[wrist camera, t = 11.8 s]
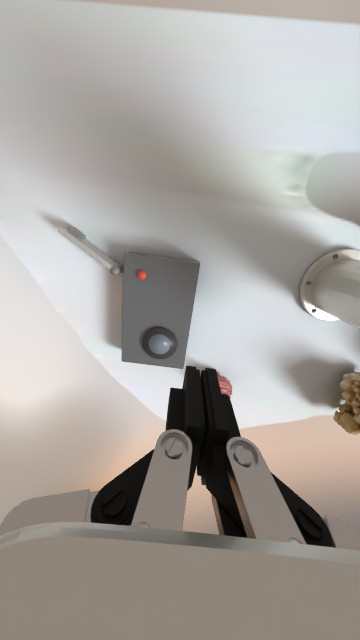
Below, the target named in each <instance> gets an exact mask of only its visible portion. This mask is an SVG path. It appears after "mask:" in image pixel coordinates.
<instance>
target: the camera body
mask: <svg viewBox="0 0 360 640" xmlns="http://www.w3.org/2000/svg"><path fill="white" fill-rule="evenodd" d="M199 267H200V263H199V261H192V260H185V259H178V258H171V257H163V256H156V255H149V254H141V253H134V252H128V253H124V280H123V304H122V319H123V326H122V361H124V362H132V363H140V364H148V365H156V366H164V367H172V368H180V369H183V367H184V360H185V354H186V348H187V342H188V336H189V329H190V323H191V317H192V311H193V304H194V298H195V292H196V286H197V280H198V273H199Z"/></svg>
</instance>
